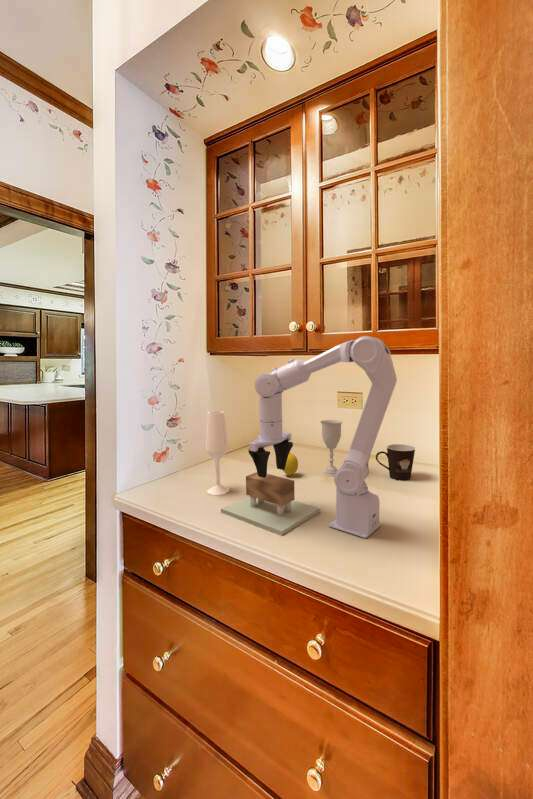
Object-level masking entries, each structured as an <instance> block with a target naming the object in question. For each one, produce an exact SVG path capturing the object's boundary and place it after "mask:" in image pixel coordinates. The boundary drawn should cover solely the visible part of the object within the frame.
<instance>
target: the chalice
mask: <svg viewBox="0 0 533 799" xmlns="http://www.w3.org/2000/svg"><path fill="white" fill-rule="evenodd" d="M320 424H321V436H322V440H323V442H324V444H325V446H326V448H327V449H329V454H328V455H329V459H328V461H329V465H328V466H326V468H325V470H324V472H323V475H324V476H326V477H334V475H335V473H336V471H337V470H338V469H337V467H336V466H334V461H335V459H334V455H335V454H334V449H337V447H338V445H339V442H340V439H341V438H342V424H343V421H342V420H338V419H324V420H321V421H320Z"/></svg>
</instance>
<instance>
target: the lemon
mask: <svg viewBox="0 0 533 799" xmlns="http://www.w3.org/2000/svg"><path fill="white" fill-rule="evenodd" d="M298 468H299V461H298V458H297V456H296V455H295V454H293V453H292V452H289V455H288V458H287V462H286V466H285V470H282V471H283V473H285V474H286V475H287V476H289V477H291V476H292V475H294V474H296V472H297V471H298Z"/></svg>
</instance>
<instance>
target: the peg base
mask: <svg viewBox="0 0 533 799" xmlns="http://www.w3.org/2000/svg"><path fill="white" fill-rule="evenodd" d="M320 512H321V508H320V507H318V506H314V505H311V504H308V503H304V502H301V501H298V500H293V501H291V502H289V503H287V504H286V505H284V506H280V505H277V504H274V503H271V502H268V501H265V500H261V499H258V498H255V497H252V496H249V495H247V496H246V497H244V498H242V499H239V500H237V501H236V502H235V501H234V502H233V503H231V504H229V505H226V506H224V507H221V508H220V513H222V514H224V515H227V516H230V517H231V518H232V517H233V518H235V519H237V520H240V521H243V522H246V523H248V524H250V525H253V526H256V527H258V528H261V529H264V530H266V531H269V532H272V533H274V532H275V533H274V534H276V533H277V535H279V534H280V535H279V536H283V534H284V535H285V534H286V533H288V532H290V531H291V530H293V529H295V528H296V527H298V526H300V525H301V524H303V523H304V522H306V521H308V520H309V519H311V518H312V517H314V516H316V515H317V514H319V513H320Z"/></svg>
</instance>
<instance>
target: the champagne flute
mask: <svg viewBox="0 0 533 799" xmlns="http://www.w3.org/2000/svg"><path fill="white" fill-rule="evenodd" d="M206 419H207V420H206V435H205V436H206V437H205V451H206V454H208V456H209V457H210V458H212V459H213V460H215V485H213V486H211V487H210V488H209V489H207V493H208V494H209V495H213V496H220V495H221V494H222V495H225V494H228V493H229V492H230V488H229V487H226V486H224V485H222V484H221V475H220V474H221V472H220V468H221V467H220V459H222V458H223V457H224V456H225V455H226V454H227V452H228V450H229V444H228V443H229V442H228V434H227V428H226V419H225V412H224V411H222V410H213V411H212V410H211V411H208V412H207V415H206ZM227 492H228V493H227ZM222 495H221V496H222Z"/></svg>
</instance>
